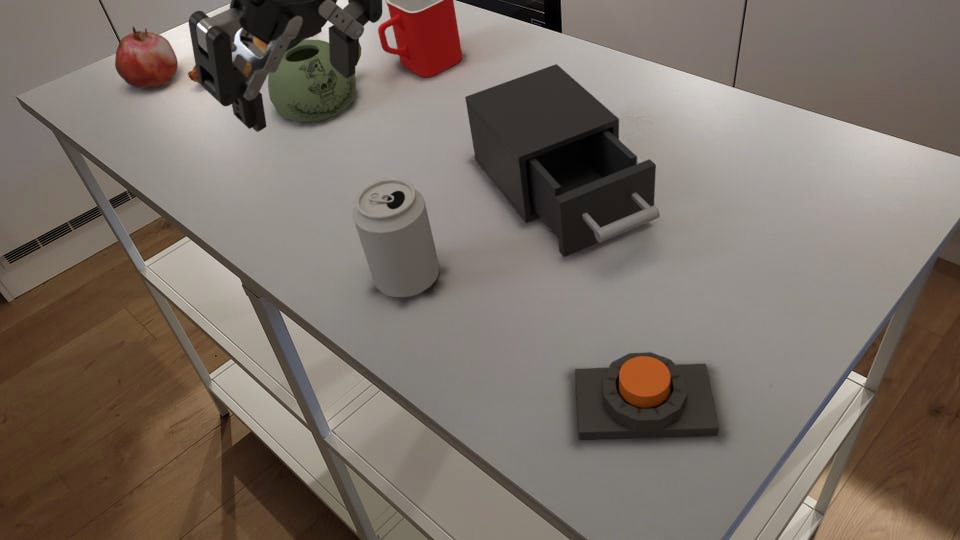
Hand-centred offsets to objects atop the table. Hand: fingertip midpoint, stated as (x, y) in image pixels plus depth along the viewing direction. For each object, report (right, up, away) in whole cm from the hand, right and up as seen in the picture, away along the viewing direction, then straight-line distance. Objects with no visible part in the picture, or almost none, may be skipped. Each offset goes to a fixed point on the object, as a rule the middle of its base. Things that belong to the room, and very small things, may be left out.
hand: (299, 95), depth 57 cm
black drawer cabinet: (+22, -1, +37) cm, 43 cm away
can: (+6, -14, +27) cm, 31 cm away
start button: (+28, -24, +10) cm, 38 cm away
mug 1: (-10, +12, +57) cm, 59 cm away
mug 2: (+5, +18, +60) cm, 63 cm away
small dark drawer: (+26, -7, +30) cm, 40 cm away
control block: (+29, -25, +12) cm, 40 cm away
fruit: (-40, +18, +68) cm, 81 cm away
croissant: (-24, +21, +68) cm, 75 cm away
